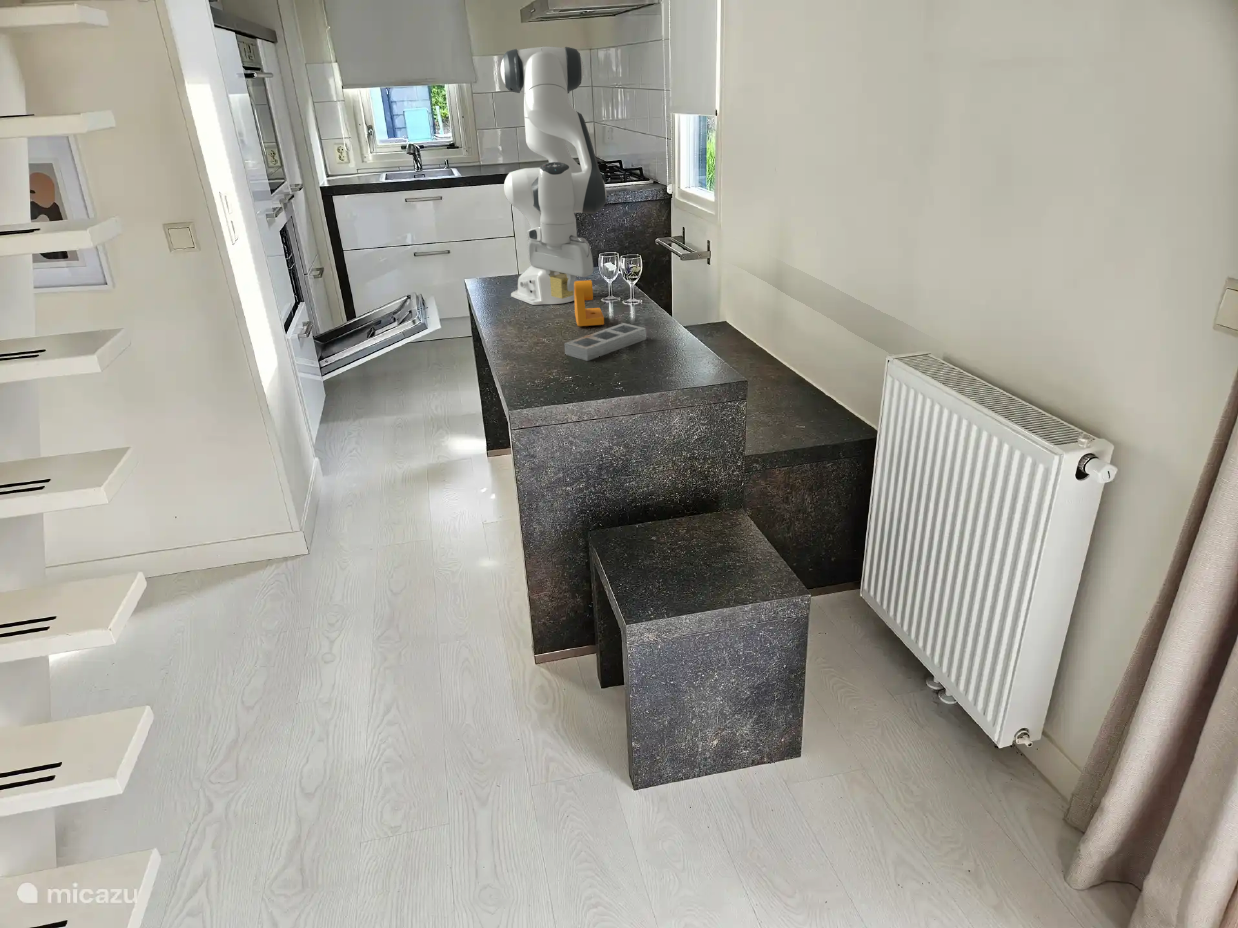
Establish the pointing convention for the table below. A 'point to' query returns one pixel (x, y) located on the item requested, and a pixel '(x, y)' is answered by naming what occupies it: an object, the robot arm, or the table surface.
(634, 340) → the grey rectangular frame
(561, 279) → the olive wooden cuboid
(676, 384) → the table surface
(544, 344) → the table surface
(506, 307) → the table surface
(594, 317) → the bracket
